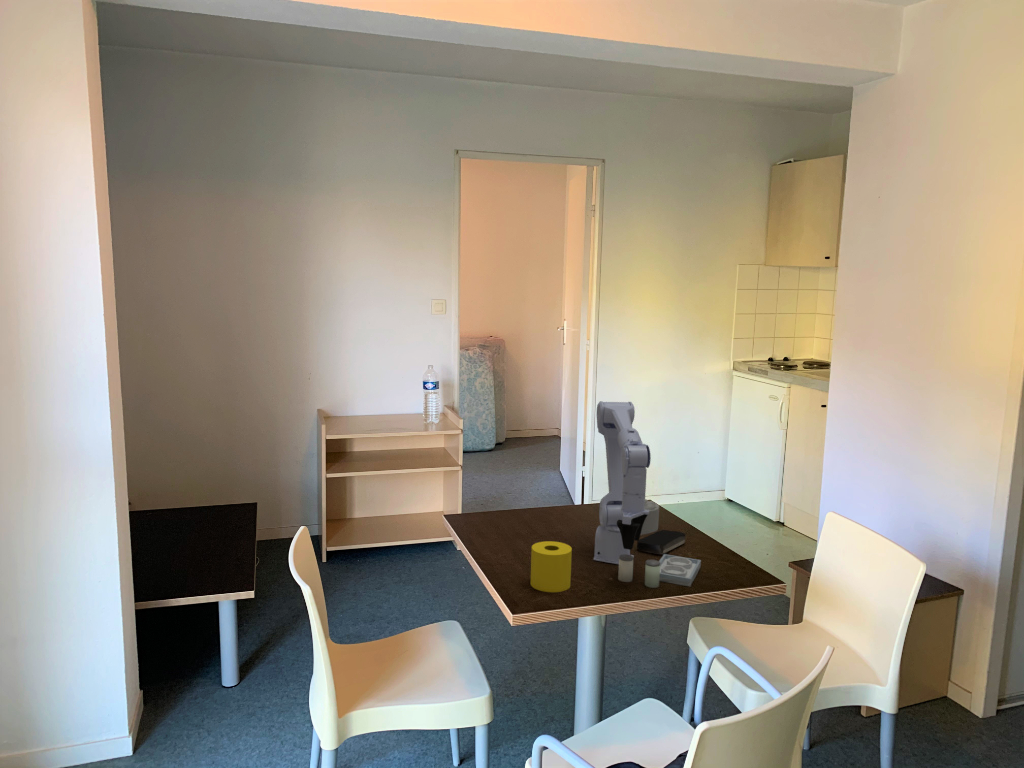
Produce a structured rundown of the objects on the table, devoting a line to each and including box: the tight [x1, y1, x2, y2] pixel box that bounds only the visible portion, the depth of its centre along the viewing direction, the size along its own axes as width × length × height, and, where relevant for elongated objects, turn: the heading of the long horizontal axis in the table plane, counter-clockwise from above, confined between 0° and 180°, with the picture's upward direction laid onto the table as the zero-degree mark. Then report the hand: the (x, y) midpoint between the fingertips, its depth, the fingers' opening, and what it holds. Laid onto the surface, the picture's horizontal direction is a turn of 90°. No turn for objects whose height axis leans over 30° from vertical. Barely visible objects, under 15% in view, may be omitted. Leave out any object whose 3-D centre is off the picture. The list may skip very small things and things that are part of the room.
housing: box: [658, 553, 702, 587], centre depth 198 cm, size 10×15×2 cm, turn 156°
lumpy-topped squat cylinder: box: [640, 498, 660, 536], centre depth 235 cm, size 10×13×9 cm
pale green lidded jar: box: [644, 559, 660, 589], centre depth 189 cm, size 4×4×6 cm
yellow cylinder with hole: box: [529, 541, 573, 593], centre depth 188 cm, size 10×10×9 cm
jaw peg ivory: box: [617, 554, 634, 583], centre depth 193 cm, size 4×4×6 cm
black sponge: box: [636, 529, 686, 555], centre depth 218 cm, size 16×8×4 cm, turn 140°
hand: (631, 544), depth 191 cm, fingers open, 7 cm apart
